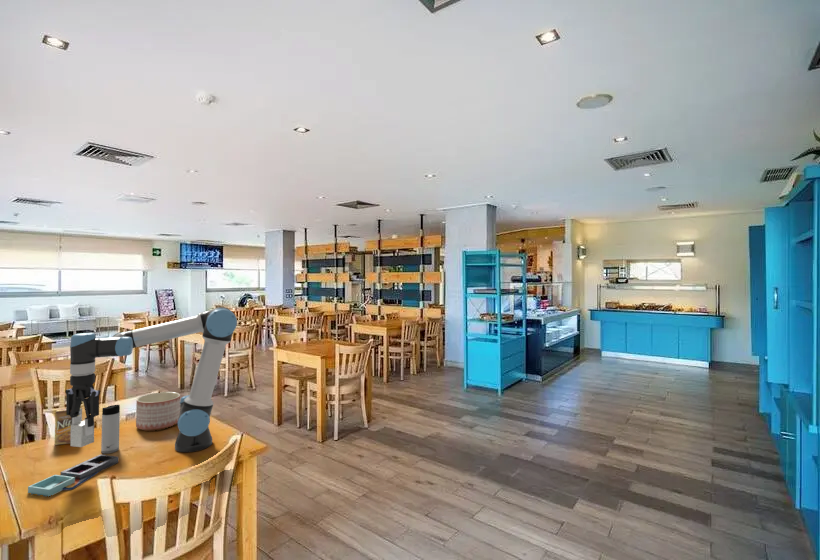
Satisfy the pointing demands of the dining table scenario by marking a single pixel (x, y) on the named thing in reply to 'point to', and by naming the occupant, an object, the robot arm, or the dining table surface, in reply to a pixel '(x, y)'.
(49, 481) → the tray
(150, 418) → the planter
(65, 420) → the candy box
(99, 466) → the black divided organizer
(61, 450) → the dining table surface
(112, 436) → the travel mug
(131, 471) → the dining table surface
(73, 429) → the white rectangular block
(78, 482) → the smartphone
